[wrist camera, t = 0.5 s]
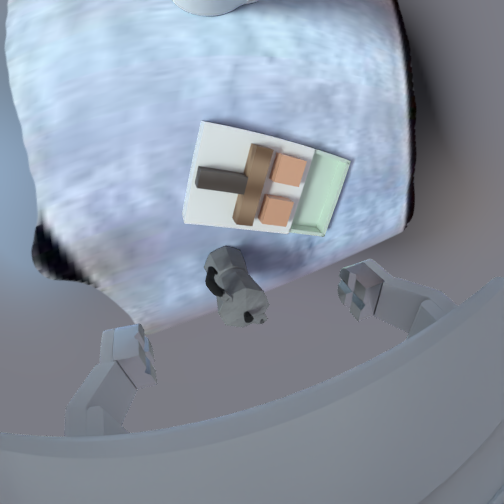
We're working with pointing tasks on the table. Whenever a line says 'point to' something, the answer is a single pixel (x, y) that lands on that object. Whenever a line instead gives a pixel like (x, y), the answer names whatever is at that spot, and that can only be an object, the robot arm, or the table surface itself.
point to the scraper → (240, 183)
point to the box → (319, 194)
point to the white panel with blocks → (234, 159)
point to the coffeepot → (234, 288)
